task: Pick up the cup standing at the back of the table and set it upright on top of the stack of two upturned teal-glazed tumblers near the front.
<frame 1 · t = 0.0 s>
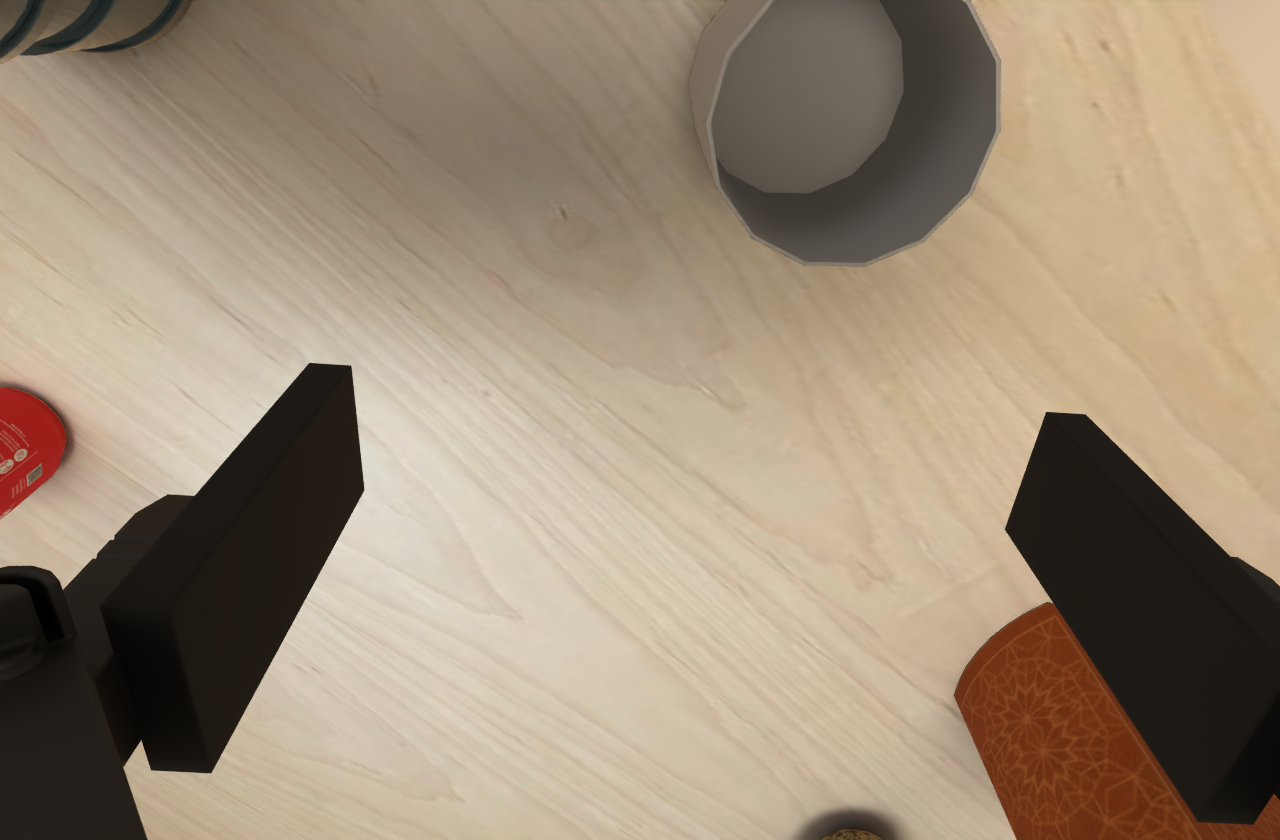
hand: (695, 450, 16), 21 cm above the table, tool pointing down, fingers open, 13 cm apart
cup: (794, 85, 32), on the table
beverage can: (22, 425, 40), on the table
decorative egg: (844, 834, 55), on the table
book: (1133, 709, 49), on the table
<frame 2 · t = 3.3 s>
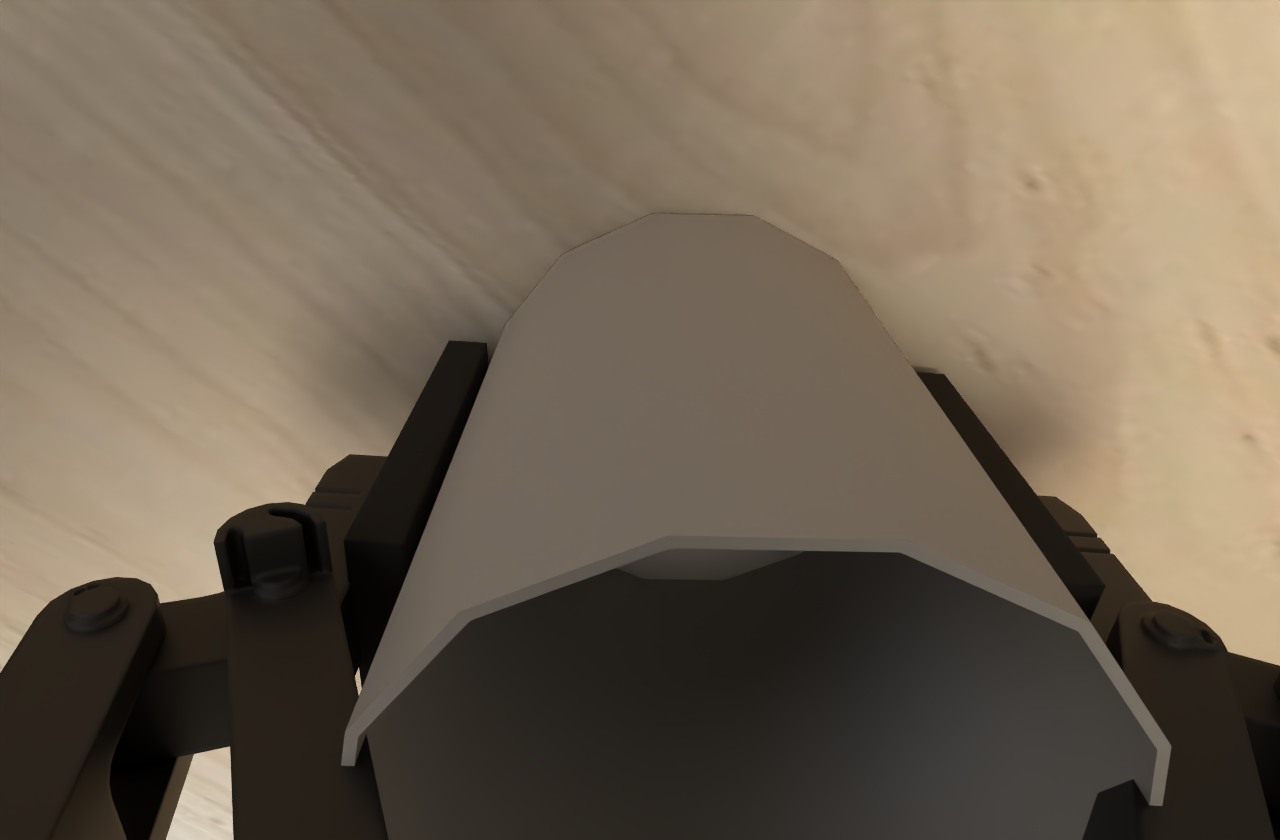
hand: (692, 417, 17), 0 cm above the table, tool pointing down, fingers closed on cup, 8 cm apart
cup: (690, 405, 17), on the table, touching gripper
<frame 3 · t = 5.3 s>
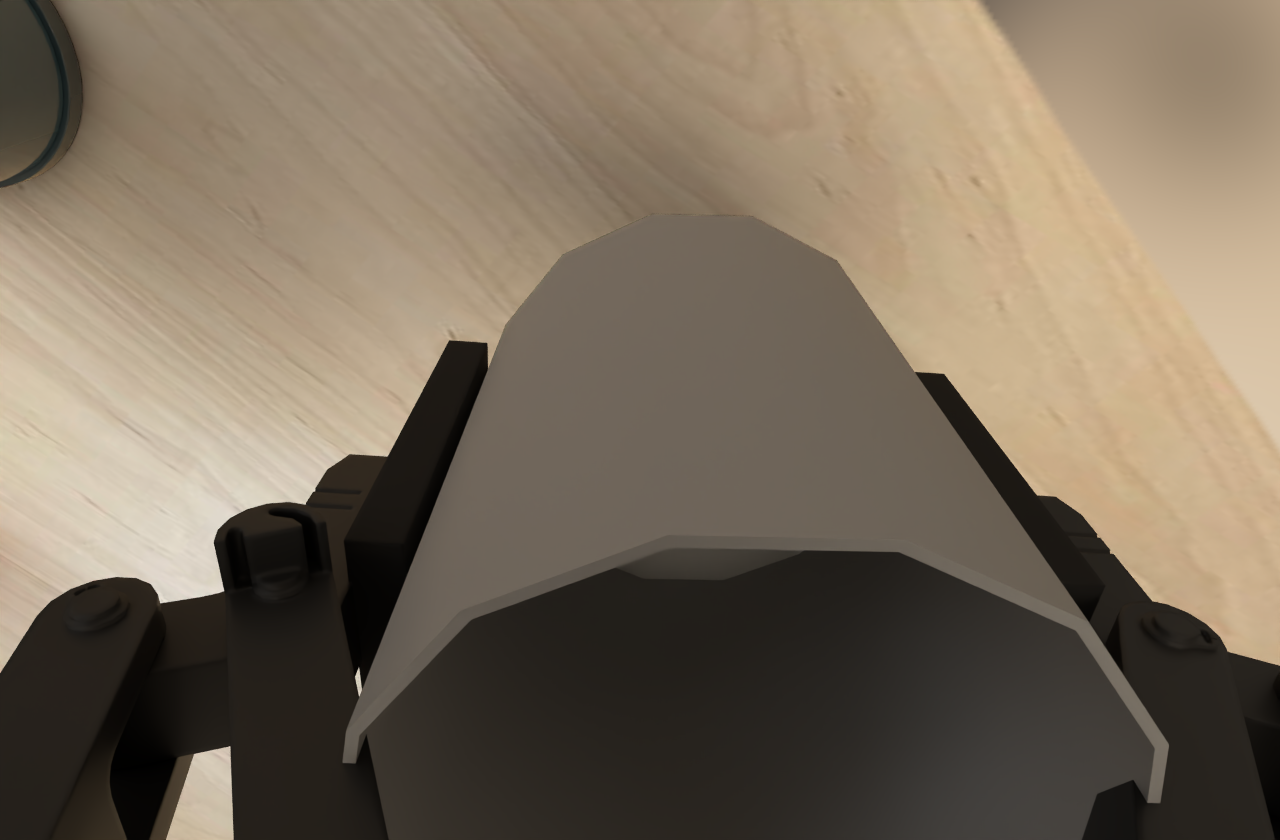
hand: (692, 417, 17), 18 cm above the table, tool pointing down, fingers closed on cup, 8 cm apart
cup: (690, 405, 17), point 17 cm above the table, touching gripper
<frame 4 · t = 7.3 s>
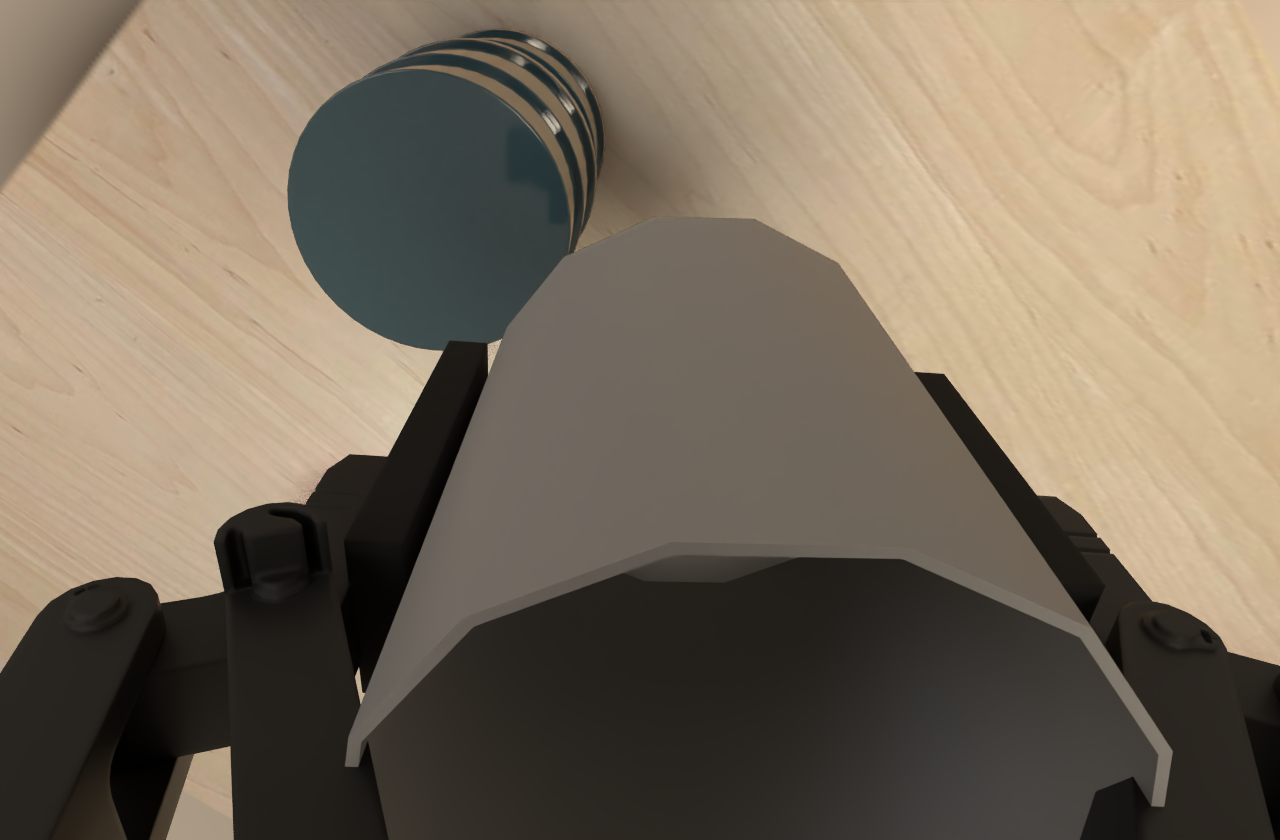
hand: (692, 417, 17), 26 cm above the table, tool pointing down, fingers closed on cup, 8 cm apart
cup: (691, 407, 17), point 25 cm above the table, touching gripper
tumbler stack: (507, 137, 39), on the table
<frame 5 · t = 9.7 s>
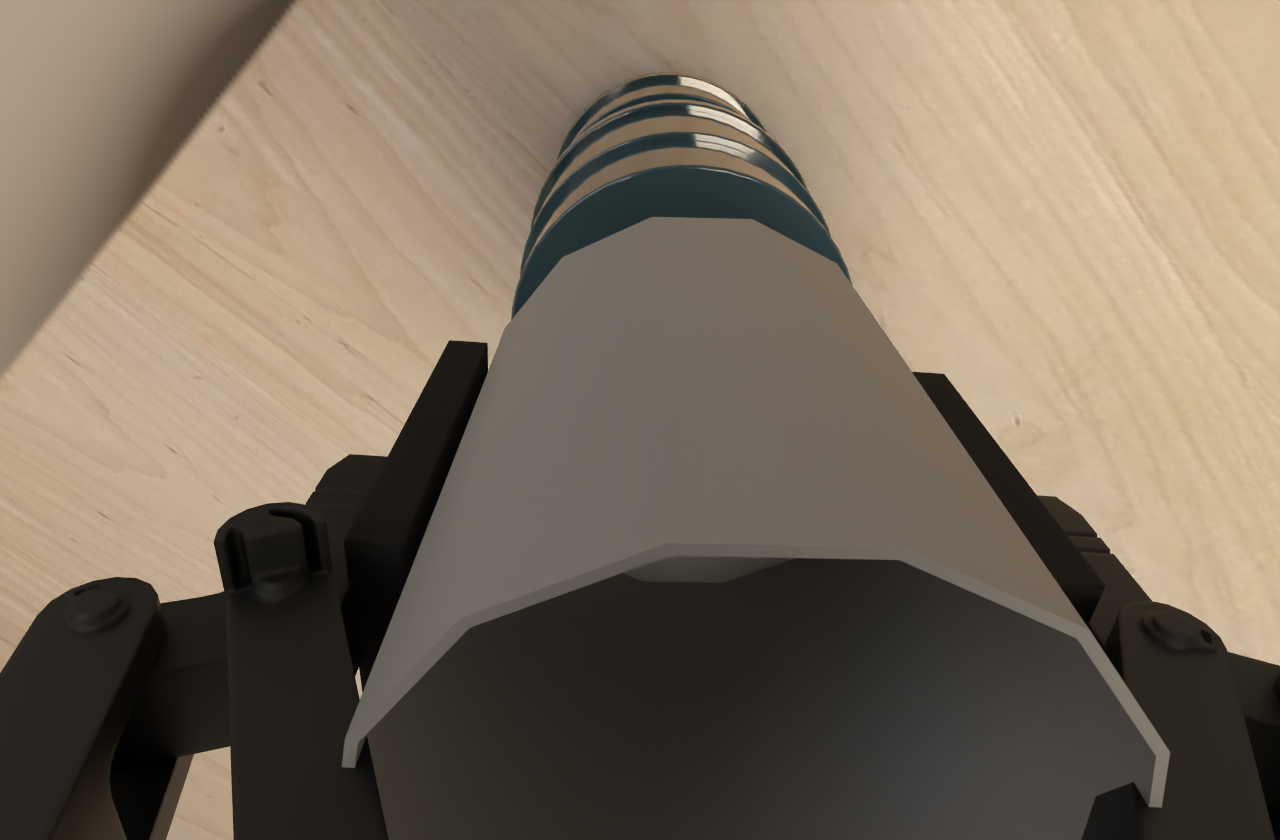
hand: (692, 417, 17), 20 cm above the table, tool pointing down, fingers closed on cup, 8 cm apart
cup: (690, 408, 17), point 19 cm above the table, touching gripper
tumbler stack: (666, 193, 34), on the table
when the fingers open (16 cm above the table, at t = 11.3 s): cup stays where it is, resting on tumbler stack.
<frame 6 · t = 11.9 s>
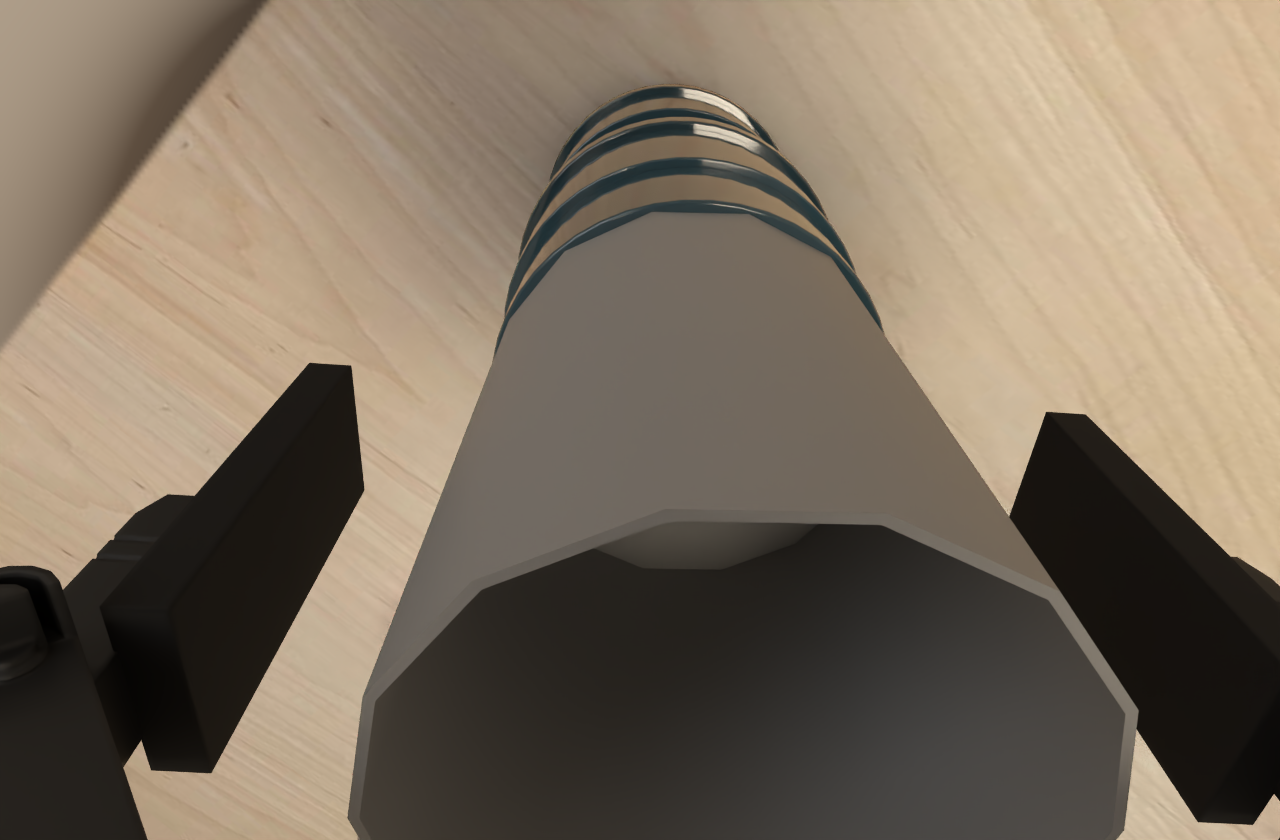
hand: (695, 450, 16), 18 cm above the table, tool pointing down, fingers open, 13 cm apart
cup: (688, 398, 18), point 16 cm above the table, touching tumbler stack
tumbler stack: (668, 213, 32), on the table
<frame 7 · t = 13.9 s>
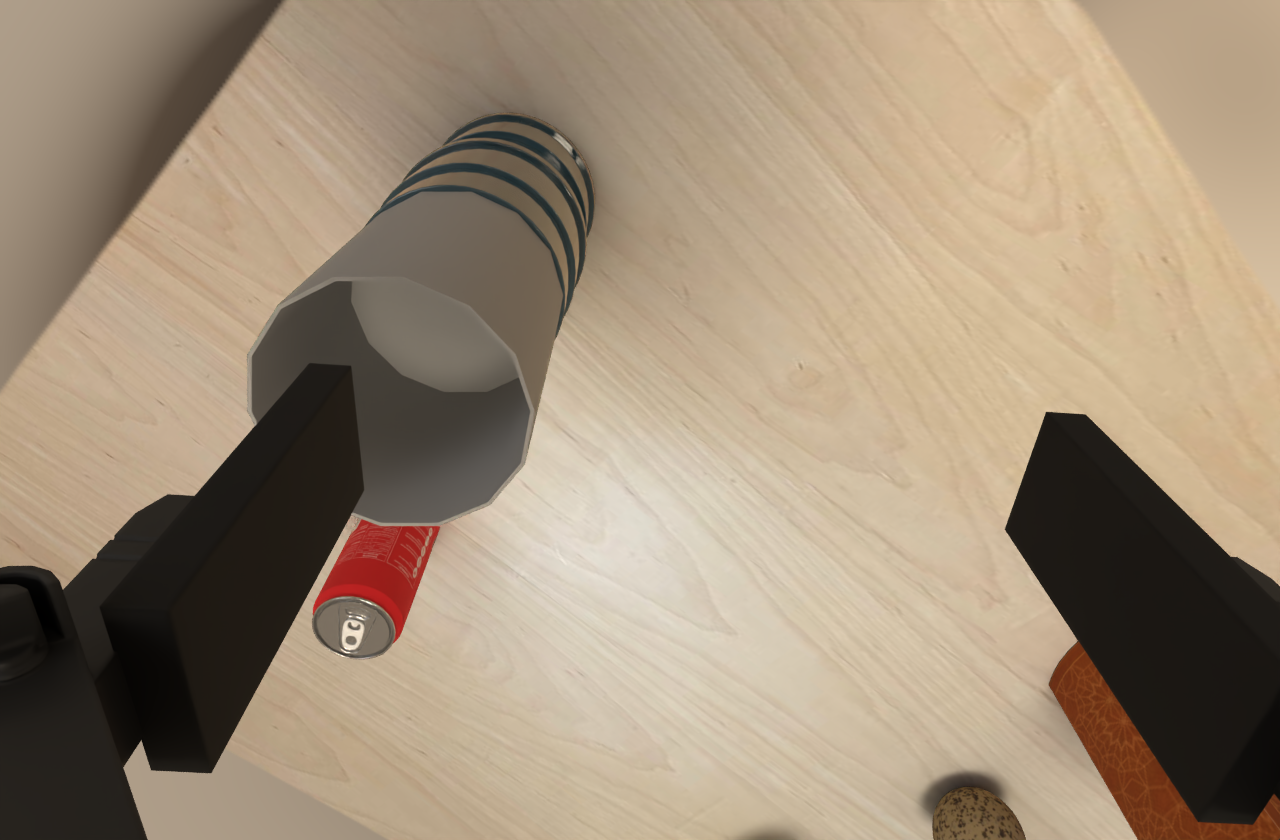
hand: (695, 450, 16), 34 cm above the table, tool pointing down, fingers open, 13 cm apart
cup: (459, 293, 33), point 16 cm above the table, touching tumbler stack
beverage can: (407, 507, 57), on the table
decorative egg: (960, 792, 72), on the table
book: (1182, 692, 66), on the table
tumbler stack: (513, 198, 47), on the table
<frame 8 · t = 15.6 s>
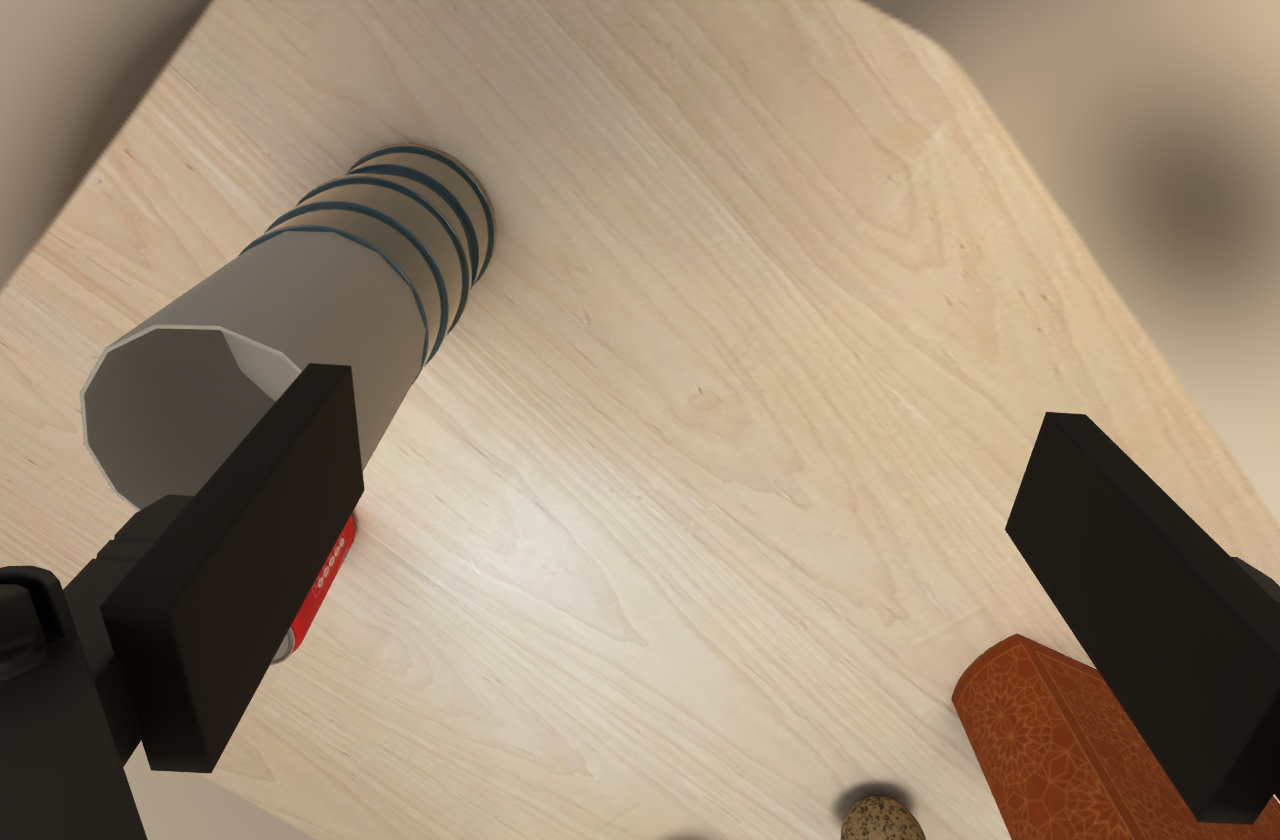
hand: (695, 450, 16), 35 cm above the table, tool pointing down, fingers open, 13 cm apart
cup: (327, 325, 35), point 16 cm above the table, touching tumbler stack
beverage can: (324, 517, 59), on the table
decorative egg: (871, 801, 74), on the table
book: (1080, 708, 68), on the table
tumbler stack: (417, 225, 49), on the table
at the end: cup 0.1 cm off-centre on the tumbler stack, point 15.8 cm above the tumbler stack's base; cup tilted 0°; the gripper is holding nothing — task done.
